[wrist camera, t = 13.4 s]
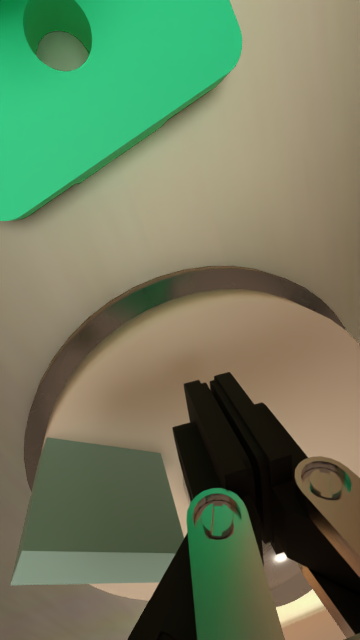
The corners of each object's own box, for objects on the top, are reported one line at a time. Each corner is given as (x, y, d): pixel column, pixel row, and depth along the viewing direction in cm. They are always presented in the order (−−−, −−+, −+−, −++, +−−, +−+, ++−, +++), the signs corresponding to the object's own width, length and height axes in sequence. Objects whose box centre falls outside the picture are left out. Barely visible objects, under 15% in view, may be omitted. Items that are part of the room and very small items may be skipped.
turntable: (109, 230, 14) (124, 247, 7) (400, 342, 21) (548, 405, 14) (3, 559, 18) (-52, 767, 11) (272, 561, 25) (338, 691, 18)
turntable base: (357, 233, 19) (370, 234, 18) (342, 493, 27) (351, 503, 26) (-38, 315, 15) (-47, 322, 14) (84, 593, 23) (84, 609, 22)
